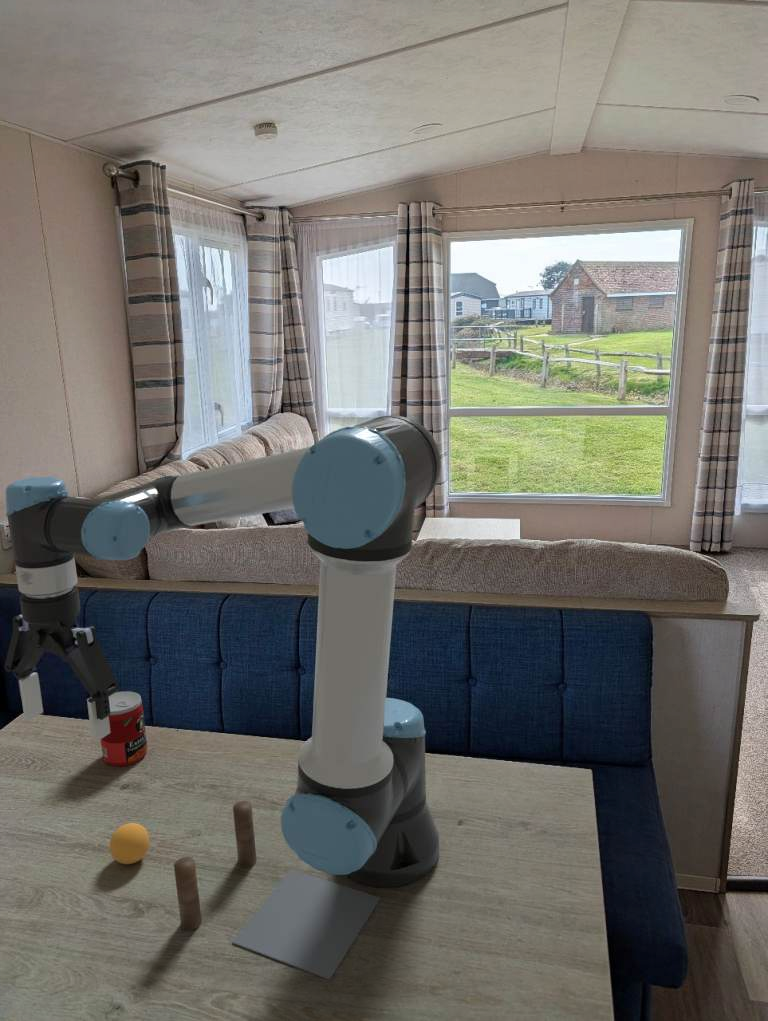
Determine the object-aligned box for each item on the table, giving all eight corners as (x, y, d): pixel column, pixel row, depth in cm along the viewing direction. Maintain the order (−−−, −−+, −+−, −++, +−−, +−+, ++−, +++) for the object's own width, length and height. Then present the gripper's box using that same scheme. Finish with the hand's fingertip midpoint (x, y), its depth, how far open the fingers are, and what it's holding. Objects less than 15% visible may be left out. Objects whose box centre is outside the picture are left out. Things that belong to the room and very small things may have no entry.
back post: (259, 857, 110) (255, 803, 108) (249, 868, 108) (244, 814, 106) (245, 852, 111) (240, 799, 109) (234, 864, 109) (229, 809, 107)
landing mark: (380, 898, 101) (380, 897, 101) (329, 980, 89) (329, 978, 89) (291, 870, 107) (291, 869, 107) (232, 943, 95) (232, 942, 95)
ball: (159, 852, 112) (155, 820, 111) (132, 877, 107) (128, 843, 106) (130, 843, 114) (126, 811, 113) (103, 866, 109) (99, 833, 108)
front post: (205, 918, 99) (199, 860, 97) (193, 933, 97) (185, 873, 95) (189, 912, 100) (183, 854, 98) (177, 926, 98) (169, 867, 96)
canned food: (135, 769, 133) (127, 713, 131) (94, 765, 135) (86, 710, 132) (156, 745, 141) (149, 692, 138) (117, 742, 142) (109, 689, 140)
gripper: (-36, 585, 107) (-14, 719, 112) (94, 613, 96) (111, 760, 101) (10, 569, 113) (28, 697, 119) (136, 593, 102) (150, 732, 108)
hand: (66, 726), depth 110 cm, fingers open, 13 cm apart
